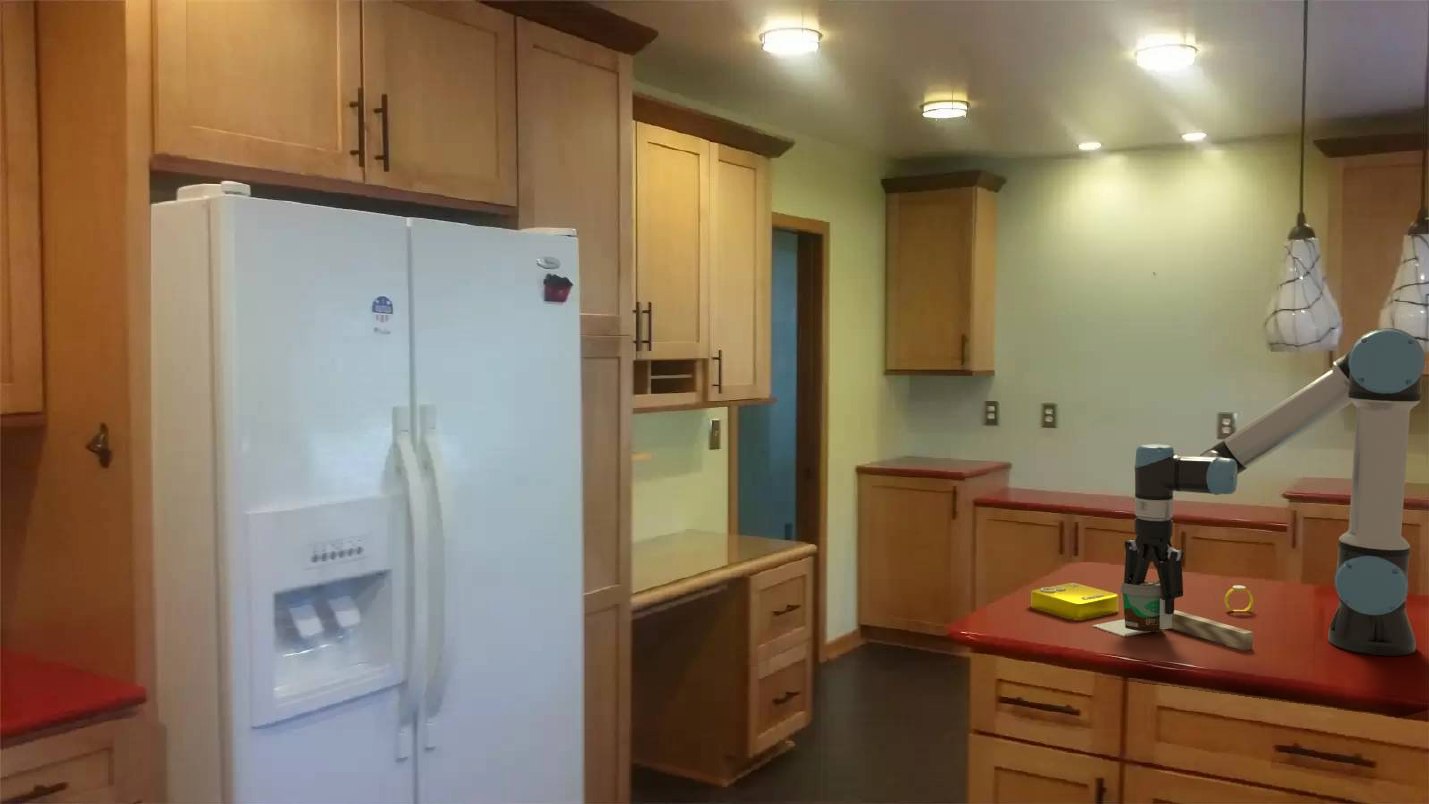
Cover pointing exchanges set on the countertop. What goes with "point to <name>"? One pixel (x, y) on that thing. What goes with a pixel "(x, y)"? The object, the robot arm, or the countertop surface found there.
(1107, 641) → the countertop surface
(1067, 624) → the countertop surface
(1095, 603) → the element tile
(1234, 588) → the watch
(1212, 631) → the maple straightedge
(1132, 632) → the plate
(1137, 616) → the food container
